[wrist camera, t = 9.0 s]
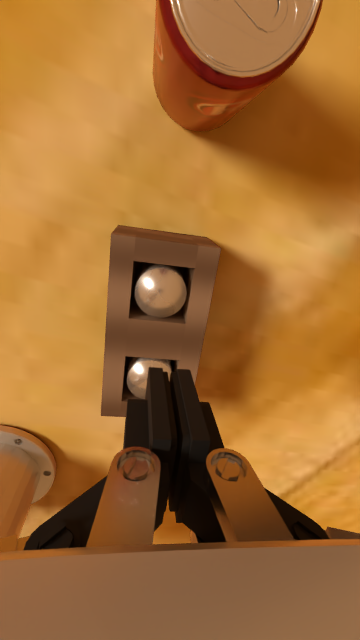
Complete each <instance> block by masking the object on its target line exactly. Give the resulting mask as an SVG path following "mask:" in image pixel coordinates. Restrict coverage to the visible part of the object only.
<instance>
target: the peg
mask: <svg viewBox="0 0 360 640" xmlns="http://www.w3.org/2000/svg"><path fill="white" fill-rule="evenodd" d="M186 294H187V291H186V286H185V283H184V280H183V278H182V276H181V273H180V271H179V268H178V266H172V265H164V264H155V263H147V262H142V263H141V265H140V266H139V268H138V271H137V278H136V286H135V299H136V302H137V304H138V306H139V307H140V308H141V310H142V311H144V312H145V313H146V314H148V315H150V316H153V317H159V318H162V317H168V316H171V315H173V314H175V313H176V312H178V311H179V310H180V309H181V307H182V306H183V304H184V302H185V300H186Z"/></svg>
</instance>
